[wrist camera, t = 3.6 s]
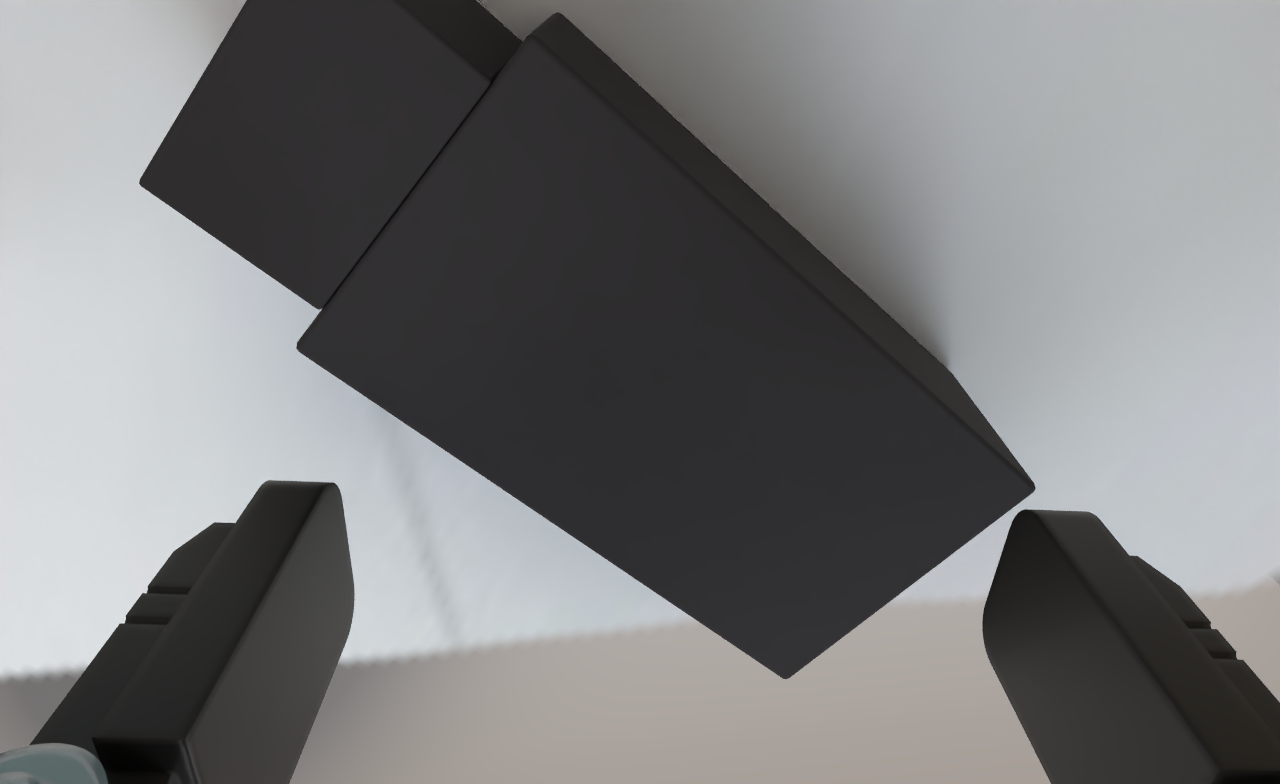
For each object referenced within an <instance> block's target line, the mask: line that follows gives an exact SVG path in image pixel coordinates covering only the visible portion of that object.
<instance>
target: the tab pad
mask: <svg viewBox="0 0 1280 784" xmlns="http://www.w3.org/2000/svg"><path fill="white" fill-rule="evenodd" d="M139 184H140V185H141V186H142V187H143V188H145V189H146V190H148V191H149V192H150V193H152V194H153V195H155V196H156V197H158V198H159V199H160V200H162V201H163V202H165V203H166V204H168V205H169V206H170V207H172V208H173V209H175V210H176V211H178V212H179V213H181V214H182V215H183V216H185V217H186V218H188V219H189V220H191V221H192V222H193V223H195V224H196V225H198V226H199V227H201V228H202V229H203V230H205V231H206V232H208V233H209V234H211V235H212V236H213V237H215V238H216V239H218V240H219V241H221V242H222V243H223V244H225V245H226V246H228V247H229V248H231V249H232V250H233V251H235V252H236V253H238V254H239V255H241V256H242V257H243V258H245V259H246V260H248V261H249V262H251V263H252V264H254V265H255V266H256V267H258V268H259V269H261V270H262V271H264V272H265V273H266V274H268V275H269V276H271V277H272V278H274V279H275V280H276V281H278V282H279V283H281V284H282V285H284V286H285V287H286V288H288V289H289V290H291V291H292V292H294V293H295V294H296V295H298V296H299V297H301V298H302V299H304V300H305V301H306V302H308V303H309V304H311V305H312V306H314V307H315V308H317V309H322V308H323V307H324V308H323V309H322V310H321V312H320V313H319V314H318V316H317V317H316V318H315V320H314V321H313V322H312V324H311V325H310V326H309V328H308V329H307V330H306V332H305V333H304V334H303V336H302V337H301V338H300V340H299V341H298V342H297V348H296V349H297V350H298V351H299V352H300V353H302V354H303V355H305V356H306V357H308V358H309V359H311V360H312V361H314V362H315V363H316V364H318V365H319V366H321V367H322V368H324V369H325V370H327V371H328V372H330V373H331V374H333V375H334V376H336V377H337V378H339V379H340V380H342V381H343V382H345V383H346V384H348V385H349V386H351V387H352V388H354V389H355V390H356V391H358V392H359V393H361V394H362V395H364V396H365V397H367V398H368V399H370V400H371V401H373V402H374V403H376V404H377V405H379V406H380V407H382V408H383V409H385V410H386V411H388V412H389V413H391V414H392V415H394V416H395V417H396V418H398V419H399V420H401V421H402V422H404V423H405V424H407V425H408V426H410V427H411V428H413V429H414V430H416V431H417V432H419V433H420V434H422V435H423V436H425V437H426V438H428V439H429V440H431V441H432V442H434V443H435V444H436V445H438V446H439V447H441V448H442V449H444V450H445V451H447V452H448V453H450V454H451V455H453V456H454V457H456V458H457V459H459V460H460V461H462V462H463V463H465V464H466V465H468V466H469V467H471V468H472V469H474V470H475V471H476V472H478V473H479V474H481V475H482V476H484V477H485V478H487V479H488V480H490V481H491V482H493V483H494V484H496V485H497V486H499V487H500V488H502V489H503V490H505V491H506V492H508V493H509V494H511V495H512V496H514V497H515V498H516V499H518V500H519V501H521V502H522V503H524V504H525V505H527V506H528V507H530V508H531V509H533V510H534V511H536V512H537V513H539V514H540V515H542V516H543V517H545V518H546V519H548V520H549V521H551V522H552V523H554V524H555V525H556V526H558V527H559V528H561V529H562V530H564V531H565V532H567V533H568V534H570V535H571V536H573V537H574V538H576V539H577V540H579V541H580V542H582V543H583V544H585V545H586V546H588V547H589V548H591V549H592V550H594V551H595V552H596V553H598V554H599V555H601V556H602V557H604V558H605V559H607V560H608V561H610V562H611V563H613V564H614V565H616V566H617V567H619V568H620V569H622V570H623V571H625V572H626V573H628V574H629V575H631V576H632V577H634V578H635V579H636V580H638V581H639V582H641V583H642V584H644V585H645V586H647V587H648V588H650V589H651V590H653V591H654V592H656V593H657V594H659V595H660V596H662V597H663V598H665V599H666V600H668V601H669V602H671V603H672V604H673V605H675V606H676V607H678V608H679V609H681V610H682V611H684V612H685V613H687V614H688V615H690V616H691V617H693V618H694V619H696V620H697V621H699V622H700V623H702V624H703V625H705V626H706V627H708V628H709V629H711V630H712V631H713V632H715V633H717V634H718V635H720V636H721V637H722V638H724V639H725V640H727V641H728V642H730V643H731V644H733V645H734V646H736V647H737V648H739V649H740V650H742V651H743V652H745V653H746V654H748V655H749V656H751V657H752V658H754V659H755V660H756V661H758V662H759V663H761V664H762V665H764V666H765V667H767V668H768V669H770V670H771V671H773V672H774V673H776V674H777V675H779V676H780V677H782V678H783V679H788V678H790V677H791V676H792V675H794V674H795V673H796V672H798V671H799V670H800V669H801V668H803V667H804V666H805V665H807V664H808V663H809V662H811V661H812V660H813V659H815V658H816V657H817V656H819V655H820V654H821V653H822V652H824V651H825V650H826V649H828V648H829V647H830V646H832V645H833V644H834V643H836V642H837V641H838V640H840V639H841V638H842V637H843V636H845V635H846V634H848V633H849V632H850V631H851V630H853V629H854V628H855V627H857V626H858V625H859V624H861V623H862V622H863V621H865V620H866V619H867V618H868V617H870V616H871V615H873V614H874V613H875V612H876V611H878V610H879V609H880V608H882V607H883V606H884V605H886V604H887V603H888V602H890V601H891V600H892V599H894V598H895V597H896V596H897V595H899V594H900V593H901V592H903V591H904V590H905V589H907V588H908V587H909V586H911V585H912V584H913V583H915V582H916V581H917V580H918V579H920V578H921V577H922V576H924V575H925V574H926V573H928V572H929V571H930V570H932V569H933V568H934V567H936V566H937V565H938V564H940V563H941V562H942V561H943V560H945V559H946V558H947V557H949V556H950V555H951V554H953V553H954V552H955V551H957V550H958V549H959V548H961V547H962V546H963V545H964V544H966V543H967V542H968V541H970V540H971V539H972V538H974V537H975V536H976V535H978V534H979V533H980V532H982V531H983V530H984V529H985V528H987V527H988V526H989V525H991V524H992V523H993V522H995V521H996V520H997V519H999V518H1000V517H1001V516H1003V515H1004V514H1005V513H1007V512H1008V511H1009V510H1010V509H1012V508H1013V507H1014V506H1016V505H1017V504H1018V503H1020V502H1021V501H1022V500H1024V499H1025V498H1026V497H1028V496H1029V495H1030V494H1031V493H1033V492H1034V490H1035V485H1034V483H1033V481H1032V480H1031V479H1030V477H1029V476H1028V475H1027V473H1026V472H1025V471H1024V469H1023V468H1022V467H1021V465H1020V464H1019V463H1018V461H1017V460H1016V459H1015V457H1014V456H1013V455H1012V453H1011V452H1010V450H1009V449H1008V448H1007V446H1006V445H1005V444H1004V442H1003V441H1002V440H1001V438H1000V437H999V436H998V434H997V433H996V432H995V430H994V429H993V428H992V426H991V425H990V424H989V422H988V421H987V420H986V418H985V417H984V416H983V414H982V413H981V412H980V410H979V409H978V408H977V406H976V405H975V404H974V402H973V401H972V400H971V398H970V397H969V396H968V394H967V393H966V392H965V390H964V389H963V387H962V386H961V385H960V383H959V382H958V381H957V379H956V378H955V377H954V375H953V374H952V373H951V372H950V371H949V370H948V369H947V368H945V367H944V366H943V365H942V364H941V363H940V362H939V361H938V360H937V359H936V358H935V357H934V356H932V355H931V354H930V353H929V352H928V351H927V350H926V349H925V348H924V347H923V346H922V345H920V344H919V343H918V342H917V341H916V340H915V339H914V338H913V337H912V336H911V335H910V334H909V333H907V332H906V331H905V330H904V329H903V328H902V327H901V326H900V325H899V324H898V323H897V322H896V321H894V320H893V319H892V318H891V317H890V316H889V315H888V314H887V313H886V312H885V311H884V310H882V309H881V308H880V307H879V306H878V305H877V304H876V303H875V302H874V301H873V300H872V299H871V298H869V297H868V296H867V295H866V294H865V293H864V292H863V291H862V290H861V289H860V288H859V287H858V286H856V285H855V284H854V283H853V282H852V281H851V280H850V279H849V278H848V277H847V276H846V275H844V274H843V273H842V272H841V271H840V270H839V269H838V268H837V267H836V266H835V265H834V264H833V263H831V262H830V261H829V260H828V259H827V258H826V257H825V256H824V255H823V254H822V253H821V252H819V251H818V250H817V249H816V248H815V247H814V246H813V245H812V244H811V243H810V242H809V241H808V240H806V239H805V238H804V237H803V236H802V235H801V234H800V233H799V232H798V231H797V230H796V229H795V228H793V227H792V226H791V225H790V224H789V223H788V222H787V221H786V220H785V219H784V218H783V217H781V216H780V215H779V214H778V213H777V212H776V211H775V210H774V209H773V208H772V207H771V206H770V205H768V204H767V203H766V202H765V201H764V200H763V199H762V198H761V197H760V196H759V195H758V194H757V193H755V192H754V191H753V190H752V189H751V188H750V187H749V186H748V185H747V184H746V183H745V182H743V181H742V180H741V179H740V178H739V177H738V176H737V175H736V174H735V173H734V172H733V171H732V170H730V169H729V168H728V167H727V166H726V165H725V164H724V163H723V162H722V161H721V160H720V159H719V158H717V157H716V156H715V155H714V154H713V153H712V152H711V151H710V150H709V149H708V148H707V147H705V146H704V145H703V144H702V143H701V142H700V141H699V140H698V139H697V138H696V137H695V136H694V135H692V134H691V133H690V132H689V131H688V130H687V129H686V128H685V127H684V126H683V125H682V124H680V123H679V122H678V121H677V120H676V119H675V118H674V117H673V116H672V115H671V114H670V113H669V112H667V111H666V110H665V109H664V108H663V107H662V106H661V105H660V104H659V103H658V102H657V101H656V100H654V99H653V98H652V97H651V96H650V95H649V94H648V93H647V92H646V91H645V90H644V89H642V88H641V87H640V86H639V85H638V84H637V83H636V82H635V81H634V80H633V79H632V78H631V77H629V76H628V75H627V74H626V73H625V72H624V71H623V70H622V69H621V68H620V67H619V66H618V65H616V64H615V63H614V62H613V61H612V60H611V59H610V58H609V57H608V56H607V55H606V54H604V53H603V52H602V51H601V50H600V49H599V48H598V47H597V46H596V45H595V44H594V43H593V42H591V41H590V40H589V39H588V38H587V37H586V36H585V35H584V34H583V33H582V32H581V31H580V30H578V29H577V28H576V27H575V26H574V25H573V24H572V23H571V22H570V21H569V20H568V19H566V18H565V17H564V16H563V15H562V14H560V13H558V12H557V13H555V14H553V15H552V16H551V17H550V18H548V19H547V20H546V21H545V22H544V23H543V24H541V25H540V26H539V27H538V28H537V29H536V30H534V31H533V32H532V33H531V34H530V35H529V36H527V37H526V38H525V40H524V41H523V42H521V41H520V40H519V39H518V38H517V37H516V36H515V35H514V34H512V33H511V32H510V31H509V30H508V29H507V28H506V27H505V26H503V25H502V24H501V23H500V22H499V21H498V20H497V19H496V18H495V17H493V16H492V15H491V14H490V13H489V12H488V11H487V10H486V9H484V8H483V7H482V6H481V5H480V4H479V3H478V2H477V1H475V0H247V1H246V3H245V4H244V6H243V8H242V9H241V11H240V13H239V14H238V16H237V18H236V19H235V21H234V23H233V24H232V26H231V28H230V29H229V31H228V33H227V34H226V36H225V38H224V39H223V41H222V43H221V44H220V46H219V48H218V49H217V51H216V53H215V54H214V56H213V58H212V60H211V61H210V63H209V65H208V66H207V68H206V70H205V71H204V73H203V75H202V76H201V78H200V80H199V81H198V83H197V85H196V86H195V88H194V90H193V91H192V93H191V95H190V96H189V98H188V100H187V101H186V103H185V105H184V106H183V108H182V110H181V111H180V113H179V115H178V116H177V118H176V120H175V121H174V123H173V125H172V127H171V128H170V130H169V132H168V133H167V135H166V137H165V138H164V140H163V142H162V143H161V145H160V147H159V148H158V150H157V152H156V153H155V155H154V157H153V158H152V160H151V162H150V163H149V165H148V167H147V168H146V170H145V172H144V173H143V175H142V177H141V178H140V182H139Z"/></svg>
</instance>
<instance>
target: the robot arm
mask: <svg viewBox="0 0 1280 784" xmlns="http://www.w3.org/2000/svg"><path fill="white" fill-rule="evenodd" d="M353 610H354V581H353V574H352V567H351V559H350V552H349V545H348V538H347V531H346V524H345V517H344V509H343V502H342V497H341V493H340V490H339V488H338V486H337V485H336V484H335V483H328V482H300V481H272V480H268V481H266V482H264V483H263V484H262V485H261V487H260V488H259V489H258V491H257V492H256V494H255V495H254V497H253V498H252V500H251V501H250V502H249V504H248V505H247V507H246V508H245V510H244V511H243V513H242V514H241V516H240V517H239V519H238V520H237V522H236V523H213V524H212V525H210V526H209V527H208V528H206V529H205V530H203V531H202V532H200V533H199V534H198V535H196V536H195V537H193V538H192V539H191V540H189V541H188V542H186V543H185V544H184V545H182V546H181V547H179V548H178V549H176V550H175V551H174V552H173V553H172V554H171V556H170V557H169V558H168V560H167V561H166V563H165V564H164V565H163V567H162V568H161V569H160V571H159V572H158V573H157V575H156V576H155V577H154V579H153V580H152V581H151V583H150V584H149V585H148V591H147V594H145V593H142V595H141V596H140V597H139V599H138V600H137V601H136V603H135V604H134V606H133V607H132V608H131V610H130V611H129V612H128V614H127V615H126V621H125V623H124V624H119V626H118V627H117V628H116V630H115V631H114V632H113V634H112V635H111V636H110V638H109V639H108V640H107V642H106V643H105V644H104V646H103V647H102V648H101V650H100V651H99V653H98V654H97V655H96V657H95V658H94V659H93V661H92V662H91V663H90V665H89V666H88V667H87V669H86V670H85V671H84V673H83V674H82V675H81V677H80V678H79V679H78V681H77V682H76V683H75V685H74V686H73V687H72V689H71V690H70V692H69V693H68V694H67V696H66V697H65V698H64V700H63V701H62V702H61V704H60V705H59V706H58V708H57V709H56V710H55V712H54V713H53V714H52V716H51V717H50V718H49V720H48V721H47V722H46V724H45V725H44V726H43V728H42V729H41V730H40V732H39V733H38V735H37V736H36V737H35V738H34V740H33V741H32V742H31V744H30V745H29V746H25V747H20V748H16V749H12V750H9V751H6V752H4V753H1V754H0V784H289V782H290V780H291V778H292V775H293V773H294V770H295V768H296V765H297V763H298V760H299V758H300V755H301V753H302V750H303V748H304V745H305V743H306V740H307V738H308V735H309V733H310V730H311V728H312V725H313V723H314V720H315V718H316V715H317V713H318V710H319V708H320V706H321V703H322V700H323V698H324V696H325V693H326V690H327V688H328V686H329V683H330V681H331V678H332V676H333V673H334V671H335V668H336V666H337V663H338V661H339V658H340V656H341V653H342V651H343V648H344V646H345V643H346V641H347V638H348V635H349V631H350V628H351V623H352V617H353ZM1210 624H1211V622H1210V621H1209V619H1208V618H1207V617H1206V616H1205V615H1204V614H1203V612H1202V611H1201V610H1200V609H1199V608H1198V607H1197V605H1196V604H1195V603H1194V602H1193V601H1192V600H1191V598H1190V597H1189V596H1188V595H1187V594H1186V593H1185V591H1184V590H1183V589H1182V588H1181V587H1180V586H1179V585H1177V584H1176V583H1174V582H1173V581H1172V580H1170V579H1169V578H1167V577H1166V576H1165V575H1163V574H1162V573H1160V572H1159V571H1158V570H1156V569H1155V568H1153V567H1152V566H1151V565H1149V564H1148V563H1146V562H1145V561H1144V560H1142V559H1141V558H1139V557H1138V556H1129V555H1128V554H1127V552H1126V551H1125V550H1124V549H1123V547H1122V546H1121V545H1120V544H1119V542H1118V541H1117V540H1116V539H1115V538H1114V536H1113V535H1112V534H1111V533H1110V531H1109V530H1108V529H1107V528H1106V527H1105V525H1104V524H1103V523H1102V522H1101V520H1100V519H1099V518H1098V517H1097V516H1095V515H1094V514H1092V513H1090V512H1081V511H1053V510H1022V511H1021V512H1019V513H1018V514H1017V515H1016V516H1015V518H1014V520H1013V521H1012V524H1011V527H1010V530H1009V533H1008V536H1007V539H1006V542H1005V545H1004V548H1003V551H1002V554H1001V557H1000V560H999V564H998V567H997V570H996V573H995V576H994V579H993V582H992V585H991V588H990V591H989V594H988V598H987V601H986V604H985V608H984V613H983V638H984V644H985V648H986V652H987V655H988V658H989V660H990V663H991V665H992V666H993V669H994V671H995V673H996V675H997V677H998V679H999V681H1000V683H1001V684H1002V686H1003V688H1004V691H1005V693H1006V694H1007V696H1008V698H1009V701H1010V702H1011V704H1012V706H1013V708H1014V710H1015V712H1016V714H1017V716H1018V718H1019V720H1020V722H1021V724H1022V726H1023V728H1024V730H1025V732H1026V734H1027V736H1028V738H1029V740H1030V742H1031V744H1032V746H1033V748H1034V750H1035V752H1036V754H1037V756H1038V758H1039V760H1040V762H1041V764H1042V766H1043V768H1044V770H1045V772H1046V774H1047V776H1048V778H1049V780H1050V782H1051V784H1280V703H1279V701H1278V700H1277V699H1276V698H1275V697H1274V695H1272V693H1271V692H1270V691H1269V690H1268V688H1267V687H1266V686H1265V685H1264V684H1263V683H1262V681H1260V679H1259V678H1258V677H1257V676H1256V674H1255V673H1254V672H1253V671H1252V670H1251V669H1250V667H1249V666H1248V665H1247V664H1246V663H1245V662H1244V661H1243V660H1238V659H1237V658H1236V651H1235V650H1234V649H1233V648H1232V646H1231V645H1230V644H1229V643H1228V642H1227V641H1226V639H1225V638H1224V637H1223V636H1222V635H1221V634H1220V632H1219V631H1218V630H1217V629H1211V626H1210Z"/></svg>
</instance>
